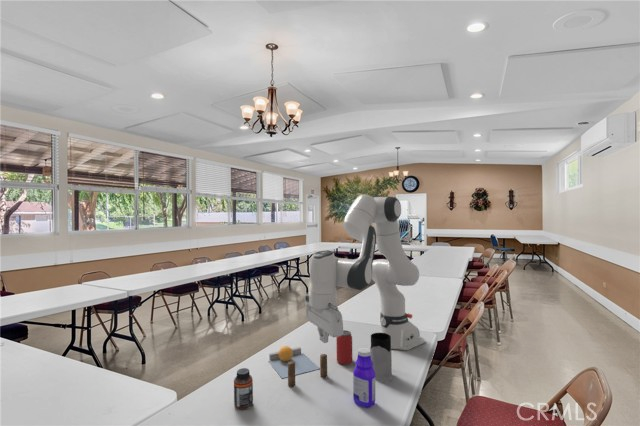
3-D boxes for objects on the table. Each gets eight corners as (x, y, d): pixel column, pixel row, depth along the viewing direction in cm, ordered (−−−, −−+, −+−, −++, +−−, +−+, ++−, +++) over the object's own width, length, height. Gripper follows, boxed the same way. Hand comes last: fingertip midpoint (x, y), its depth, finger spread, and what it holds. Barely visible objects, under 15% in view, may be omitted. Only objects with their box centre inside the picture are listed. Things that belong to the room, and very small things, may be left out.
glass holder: (367, 379, 123) (366, 338, 123) (375, 362, 136) (374, 326, 136) (390, 383, 120) (390, 342, 120) (396, 366, 133) (396, 328, 133)
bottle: (378, 403, 107) (378, 350, 107) (369, 411, 103) (368, 355, 103) (360, 395, 112) (359, 344, 112) (350, 402, 108) (349, 349, 108)
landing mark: (303, 353, 145) (303, 353, 145) (320, 368, 131) (320, 368, 131) (268, 361, 138) (268, 361, 138) (282, 378, 124) (282, 378, 124)
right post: (325, 374, 127) (325, 353, 127) (328, 377, 125) (328, 356, 125) (319, 375, 126) (318, 354, 126) (322, 378, 123) (322, 357, 123)
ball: (289, 343, 143) (295, 348, 138) (288, 358, 142) (294, 362, 137) (276, 344, 140) (282, 349, 135) (275, 359, 140) (281, 364, 134)
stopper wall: (299, 352, 147) (299, 347, 147) (301, 353, 145) (301, 348, 145) (269, 359, 140) (269, 353, 140) (270, 360, 139) (270, 354, 139)
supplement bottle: (235, 400, 110) (235, 366, 110) (254, 399, 110) (253, 365, 110) (232, 411, 104) (232, 375, 104) (251, 410, 105) (251, 374, 104)
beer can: (351, 365, 134) (351, 336, 134) (335, 364, 135) (335, 335, 135) (353, 358, 140) (352, 330, 140) (337, 357, 142) (337, 329, 141)
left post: (293, 382, 121) (293, 360, 121) (296, 385, 119) (296, 363, 119) (287, 384, 120) (286, 362, 120) (289, 387, 118) (289, 365, 117)
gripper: (348, 306, 103) (348, 351, 103) (318, 292, 121) (318, 330, 121) (330, 309, 100) (330, 355, 100) (302, 294, 118) (302, 333, 118)
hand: (323, 341), depth 111 cm, fingers closed
